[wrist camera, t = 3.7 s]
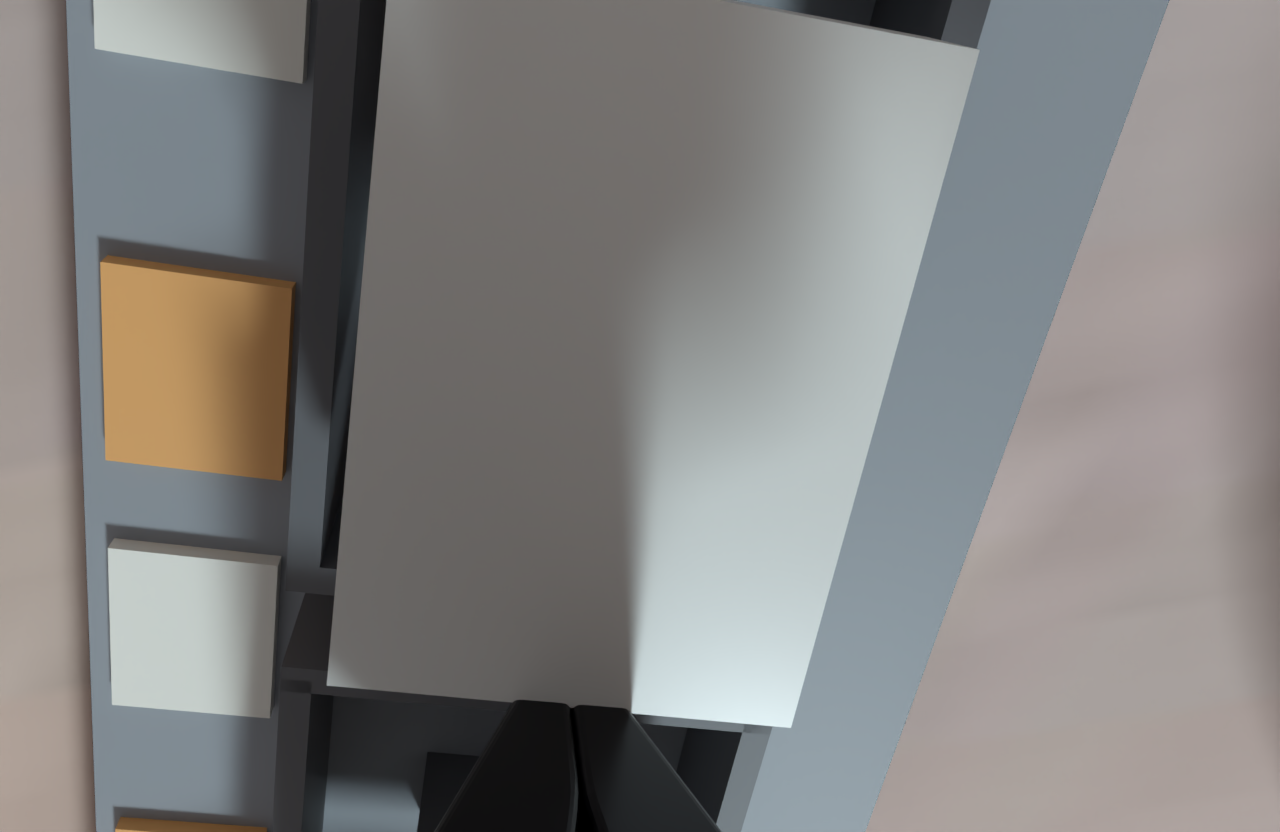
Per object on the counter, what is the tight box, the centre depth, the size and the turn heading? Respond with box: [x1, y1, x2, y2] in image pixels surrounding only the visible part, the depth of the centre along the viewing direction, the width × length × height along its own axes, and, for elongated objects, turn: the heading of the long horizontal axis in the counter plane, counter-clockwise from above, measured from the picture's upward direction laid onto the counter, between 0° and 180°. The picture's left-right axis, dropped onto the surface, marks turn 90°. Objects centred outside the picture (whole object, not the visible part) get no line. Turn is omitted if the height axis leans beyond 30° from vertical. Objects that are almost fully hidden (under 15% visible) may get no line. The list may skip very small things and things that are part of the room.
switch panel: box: [66, 0, 1169, 832], centre depth 14 cm, size 10×23×4 cm, turn 170°
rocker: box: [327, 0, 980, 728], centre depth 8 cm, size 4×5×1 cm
